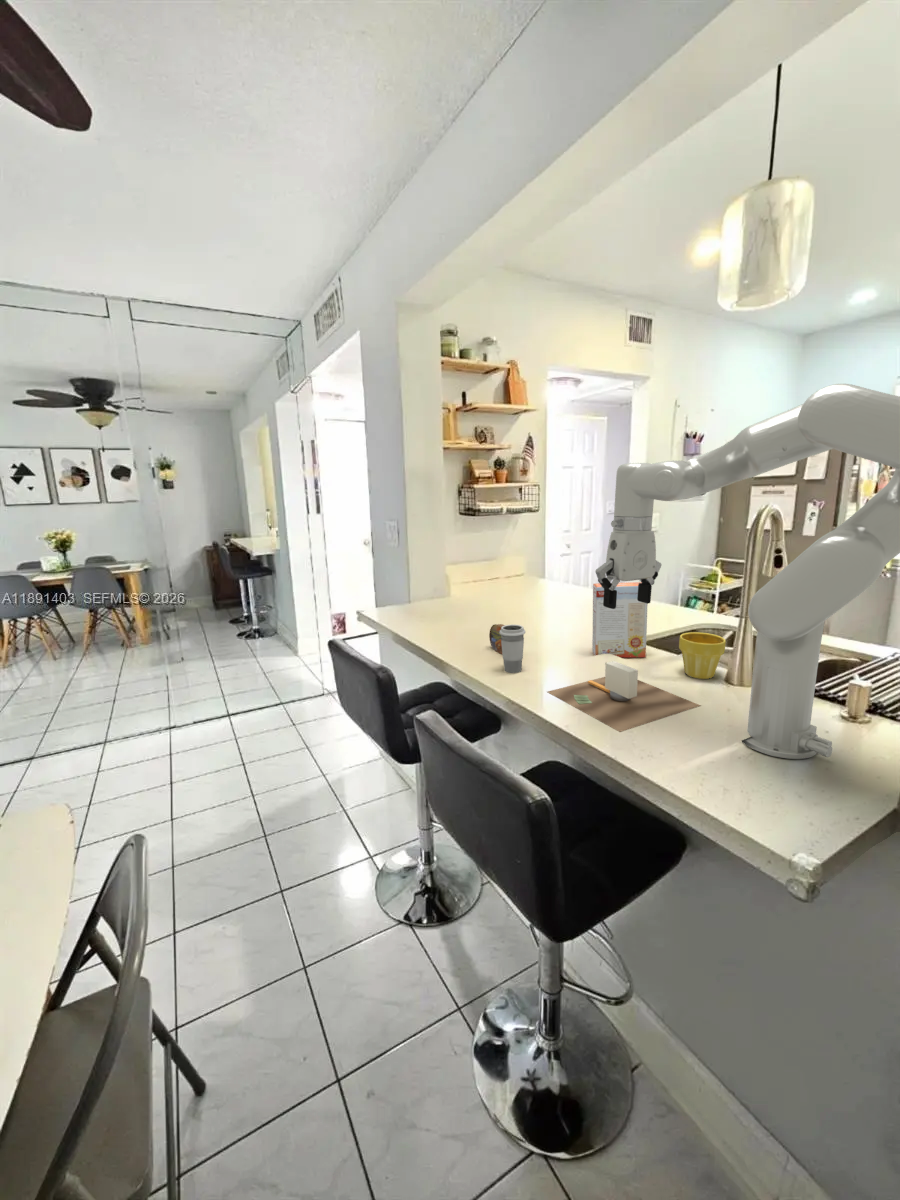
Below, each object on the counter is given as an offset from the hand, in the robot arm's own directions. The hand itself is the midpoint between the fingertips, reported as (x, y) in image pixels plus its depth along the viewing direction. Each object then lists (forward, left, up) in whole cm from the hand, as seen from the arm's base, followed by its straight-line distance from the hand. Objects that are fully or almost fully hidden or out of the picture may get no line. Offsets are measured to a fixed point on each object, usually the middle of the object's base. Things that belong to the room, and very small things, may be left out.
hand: (626, 604), depth 108 cm
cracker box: (+25, -23, -23) cm, 41 cm away
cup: (+31, +9, -23) cm, 39 cm away
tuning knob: (+3, +1, -21) cm, 21 cm away
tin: (+44, +3, -23) cm, 49 cm away
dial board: (0, +1, -23) cm, 23 cm away
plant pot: (+3, -29, -23) cm, 37 cm away
